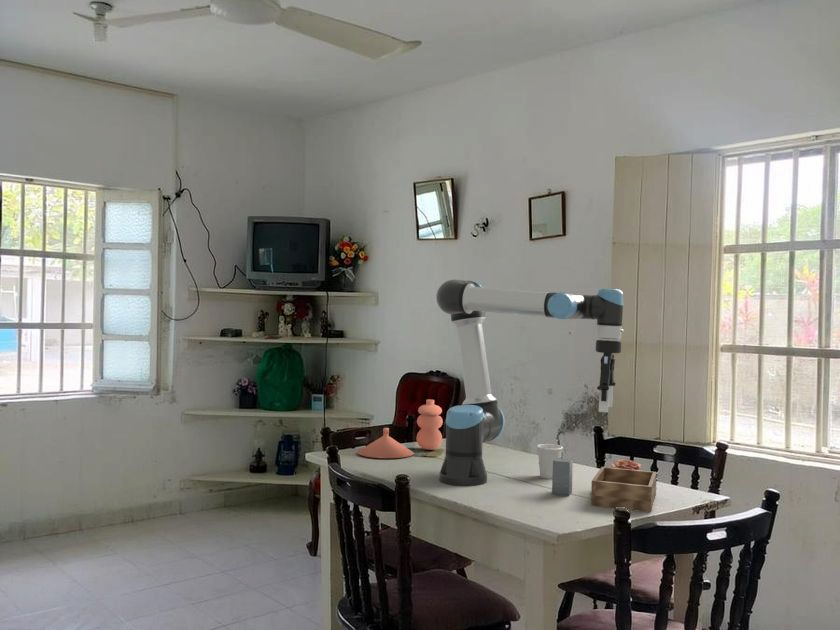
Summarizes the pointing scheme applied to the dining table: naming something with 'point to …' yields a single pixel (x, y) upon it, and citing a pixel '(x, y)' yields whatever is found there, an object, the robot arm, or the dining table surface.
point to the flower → (626, 464)
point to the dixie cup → (548, 458)
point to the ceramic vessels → (425, 438)
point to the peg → (562, 477)
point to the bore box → (624, 489)
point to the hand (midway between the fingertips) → (605, 409)
